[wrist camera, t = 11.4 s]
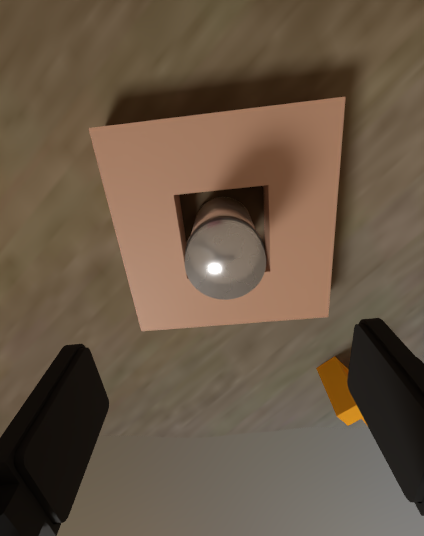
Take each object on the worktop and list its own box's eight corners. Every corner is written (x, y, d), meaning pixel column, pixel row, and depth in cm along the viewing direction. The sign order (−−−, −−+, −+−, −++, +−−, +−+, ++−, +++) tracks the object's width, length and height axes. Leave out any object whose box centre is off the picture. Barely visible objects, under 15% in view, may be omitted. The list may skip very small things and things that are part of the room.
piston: (189, 199, 25) (176, 228, 17) (250, 192, 25) (266, 218, 17) (197, 254, 28) (189, 304, 19) (253, 249, 27) (269, 297, 19)
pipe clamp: (401, 400, 36) (437, 452, 30) (371, 417, 37) (400, 469, 31) (347, 347, 32) (376, 393, 26) (315, 367, 34) (336, 416, 28)
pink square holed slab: (103, 129, 23) (88, 128, 20) (329, 101, 22) (345, 96, 19) (148, 313, 31) (141, 331, 28) (318, 300, 30) (328, 316, 27)
